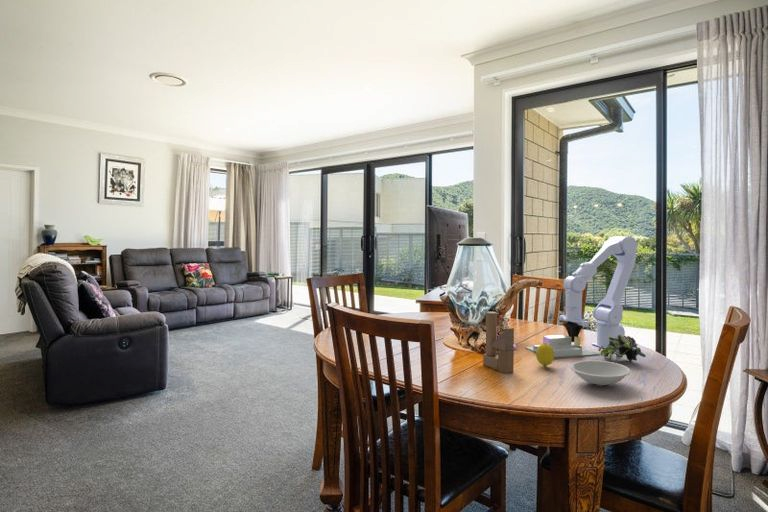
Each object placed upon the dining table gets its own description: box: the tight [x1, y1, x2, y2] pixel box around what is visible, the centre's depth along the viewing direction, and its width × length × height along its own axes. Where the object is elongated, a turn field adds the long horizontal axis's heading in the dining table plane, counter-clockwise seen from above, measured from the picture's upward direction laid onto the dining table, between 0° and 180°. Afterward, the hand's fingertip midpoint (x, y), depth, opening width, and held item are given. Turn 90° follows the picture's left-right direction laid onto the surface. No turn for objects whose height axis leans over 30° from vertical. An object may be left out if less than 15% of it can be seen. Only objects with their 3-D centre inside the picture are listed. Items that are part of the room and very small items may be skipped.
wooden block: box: [482, 311, 515, 374], centre depth 135 cm, size 4×11×18 cm, turn 26°
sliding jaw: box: [532, 335, 583, 352], centre depth 156 cm, size 20×2×4 cm, turn 103°
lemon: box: [535, 343, 555, 368], centre depth 136 cm, size 6×6×8 cm
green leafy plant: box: [598, 335, 646, 363], centre depth 142 cm, size 11×11×12 cm
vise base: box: [524, 343, 601, 359], centre depth 155 cm, size 21×15×2 cm
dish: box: [570, 360, 631, 387], centre depth 119 cm, size 18×14×5 cm
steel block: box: [542, 334, 572, 349], centre depth 152 cm, size 9×4×6 cm, turn 103°
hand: (573, 341), depth 161 cm, fingers closed
